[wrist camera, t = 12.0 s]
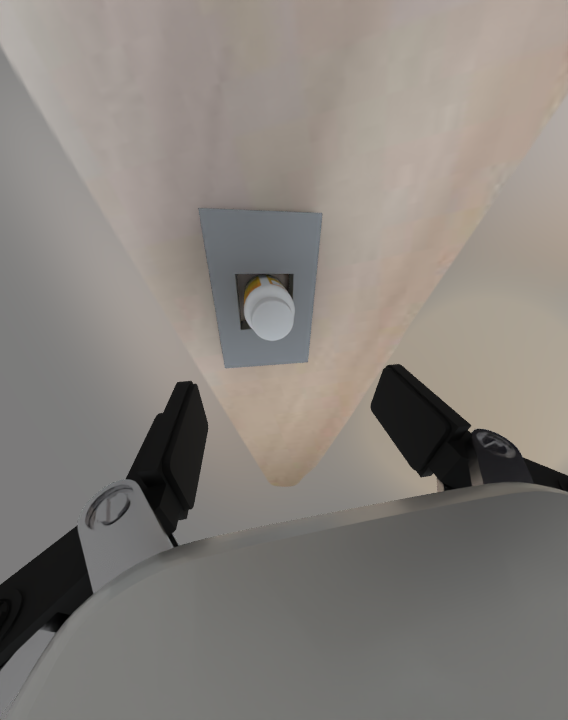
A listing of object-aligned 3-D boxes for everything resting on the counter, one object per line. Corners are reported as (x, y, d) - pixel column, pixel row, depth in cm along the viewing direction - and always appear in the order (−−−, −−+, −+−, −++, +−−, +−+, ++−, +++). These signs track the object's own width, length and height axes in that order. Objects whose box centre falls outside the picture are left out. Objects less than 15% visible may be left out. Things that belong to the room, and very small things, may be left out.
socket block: (203, 211, 21) (198, 207, 18) (313, 215, 23) (322, 213, 20) (226, 357, 30) (225, 368, 28) (302, 352, 32) (307, 362, 30)
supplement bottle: (247, 317, 28) (248, 351, 20) (240, 276, 25) (237, 296, 17) (286, 312, 28) (302, 343, 20) (282, 271, 25) (300, 288, 17)
